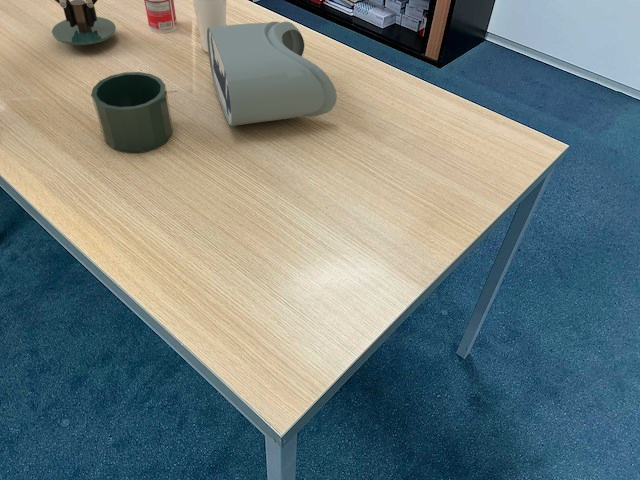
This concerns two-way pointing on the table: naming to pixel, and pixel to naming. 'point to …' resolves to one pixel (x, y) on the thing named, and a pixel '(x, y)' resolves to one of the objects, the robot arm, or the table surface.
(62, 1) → the robot arm
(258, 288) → the table surface
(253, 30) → the gray curved housing
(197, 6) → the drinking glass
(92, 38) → the lid
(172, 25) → the pill bottle
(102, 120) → the pot
